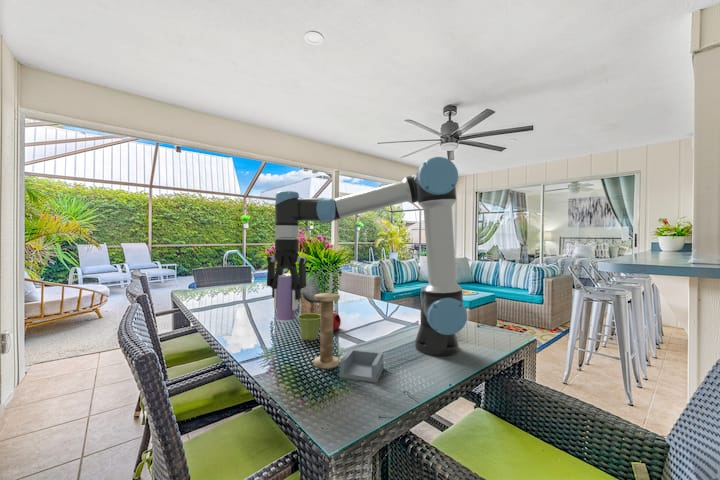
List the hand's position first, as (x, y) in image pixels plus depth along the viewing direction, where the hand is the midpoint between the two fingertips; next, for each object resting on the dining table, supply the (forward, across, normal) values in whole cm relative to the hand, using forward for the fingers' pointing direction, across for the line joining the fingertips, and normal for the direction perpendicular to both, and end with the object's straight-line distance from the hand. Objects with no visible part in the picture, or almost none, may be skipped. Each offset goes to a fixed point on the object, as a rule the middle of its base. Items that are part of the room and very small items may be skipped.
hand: (286, 308), depth 103 cm
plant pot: (+16, 0, -19) cm, 25 cm away
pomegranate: (+16, -3, -32) cm, 36 cm away
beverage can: (+4, 0, 0) cm, 4 cm away
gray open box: (+16, -28, +4) cm, 32 cm away
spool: (+16, -15, +1) cm, 22 cm away
